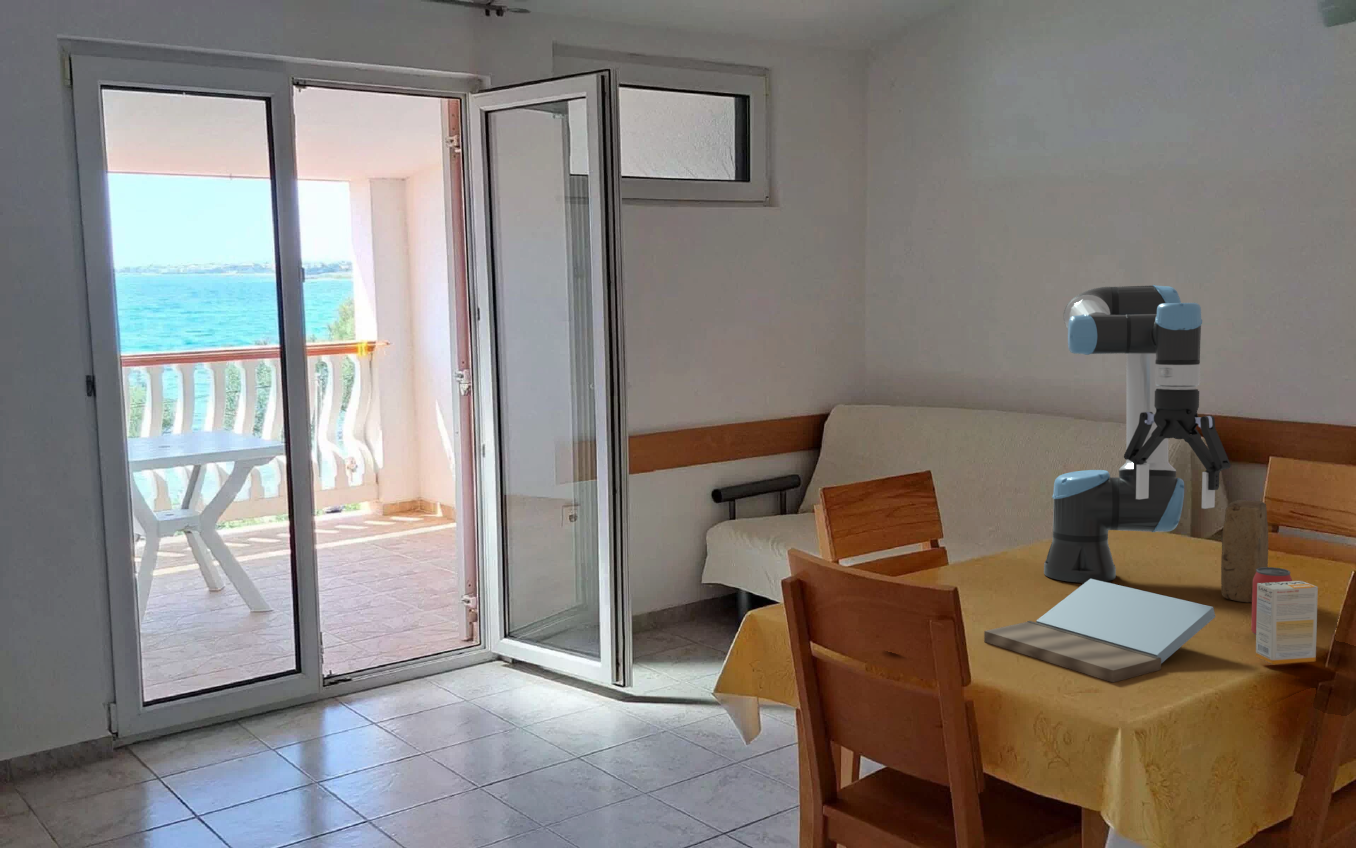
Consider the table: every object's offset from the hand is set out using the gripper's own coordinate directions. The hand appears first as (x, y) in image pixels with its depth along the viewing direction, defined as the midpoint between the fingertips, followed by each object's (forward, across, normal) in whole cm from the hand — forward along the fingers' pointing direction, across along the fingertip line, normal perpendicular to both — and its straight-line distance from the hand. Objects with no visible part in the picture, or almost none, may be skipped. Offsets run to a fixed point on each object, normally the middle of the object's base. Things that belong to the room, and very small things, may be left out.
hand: (1174, 503), depth 215 cm
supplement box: (+24, +22, 0) cm, 33 cm away
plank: (+22, -1, -21) cm, 31 cm away
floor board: (+24, -1, -27) cm, 36 cm away
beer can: (+24, +12, +13) cm, 30 cm away
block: (+24, -7, +34) cm, 42 cm away
